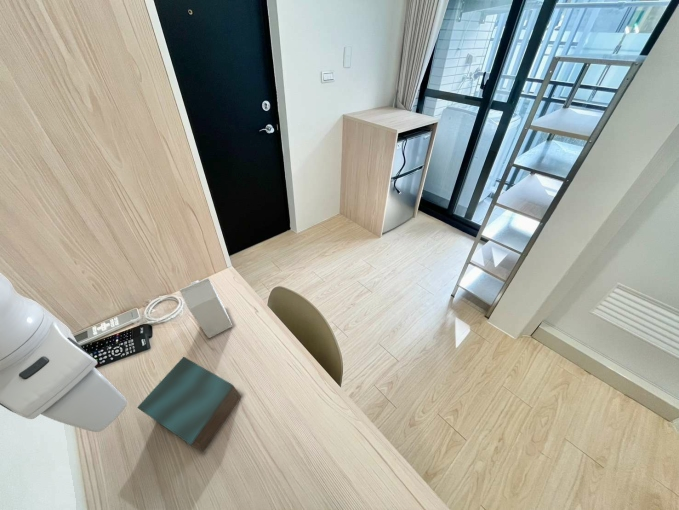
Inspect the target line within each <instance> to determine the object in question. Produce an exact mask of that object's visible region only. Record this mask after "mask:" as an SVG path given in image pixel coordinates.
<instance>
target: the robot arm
mask: <svg viewBox="0 0 679 510" xmlns="http://www.w3.org/2000/svg"><path fill="white" fill-rule="evenodd" d="M97 365H98V360H96V359H95V357H93V356H92V355H91V354H90V353H89V352H88V351H86V350H85V349H84V348H83V347H82V346H81V345H80V344H79V342H78V341H77V340H76V338H75V336H74V334H73V333H72V330H71V329H70V327H69V326H68V325H66V324H65V323H64V322H62V320H60V319H59V318H58V317H56V316H55V315H54V314H52V313H51V312H50V311H49V310H47V309H46V308H45V307H44V306H43V305H42V304H40V303H39V302H37V301H36V300H34V299H31V298H29V297H26V296H25V295H24V296H23V295H22V294H20V293H19V292H17V291H16V289H15V287H14V285H13V283H12V282H11V281H10V280H9V279H8V277H6V276H5V275H4V274H3V273H1V272H0V406H1V407H4V408H5V409H7V410H8V411H9V412H12V413H14V414H16V415H18V416H20V417H22V418H24V419H28V420H34V419H36V418H37V417H39V416H40V415H41V416H44V417H46V418H48V419H50V420H53V421H56V422H58V423H60V424H61V423H62V424H64V425H68V426H71V427H74V428H78V429H81V430H84V431H88V432H91V433H99V432H102V431H104V430H105V429H106V428H107V427H109V426H110V425H111V424H112V423H113V422H114V421H115V420H116V419H117V418H118V417H119V416H120V415H121V413H122V412H123V411H124V410H125V409H126V407H127V405H128V400H127V397H125V395H123V394H122V393H121V391H120V390H119V389H118V388H116V387H115V385H114V384H113V383H112V382H111V381H109V379H108V378H106V376H105V375H103V374H102V372H100V371H99V370H98V369H97V368H96V366H97Z"/></svg>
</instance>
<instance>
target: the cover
mask: <svg viewBox="0 0 679 510" xmlns="http://www.w3.org/2000/svg"><path fill="white" fill-rule="evenodd" d="M233 386H234V385H233V383H230V382H229V381H227V380H226V379H223V378H222V377H220V376H219V375H217V374H215V373H213V372H211V371H210V370H208V369H207V368H205V367H203V366H202V365H199V364H198V363H196V362H194V361H192V360H190V359H189V358H187V357H185V356H182V358H181V359H180V360H179V361H178V362H177V363H176V364H175V365H174V366H173V367H172V369H171V370H170V371H169V372H168V373H167V374H166V375H165V376H164V377H163V379H162V380H161V381H160V382H159V383H158V384H157V385H156V386H155V388H154V389H152V390H151V392H150V393H149V394H148V395H147V396H146V397H145V398H144V399H143V400H142V402H141V403H139V405H138V406H137V409H139V410H140V411H141V412H142V413H144V414H145V415H147V416H148V417H149V418H151V419H153V420H154V421H155V422H157V423H158V424H160V425H161V426H163V427H165V429H167V430H168V431H170V432H171V433H173V434H174V435H175V436H177V437H179V438H180V439H181V440H183V441H184V442H186V443H187V444H188V445H190V446H192V443H193V442H194V441H195V439H196V438H197V437H198V435H199V434H200V432H201V431H202V430H203V428H204V427H205V425H206V424H207V423H208V421H209V420H210V418H211V417H212V416H213V414H214V413H215V411H216V410H217V409H218V407H219V406H220V404H221V403H222V402H223V400H224V399H225V397H226V396H227V395H228V393H229V392H230V391H231V389H232V388H233Z"/></svg>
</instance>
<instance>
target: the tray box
mask: <svg viewBox="0 0 679 510" xmlns="http://www.w3.org/2000/svg"><path fill="white" fill-rule="evenodd" d="M241 398H242V394H240V393H239V391H238V390H237V388H236V387H235V386H234V385H233V388H232V389H231V391H230V392H229V393H228V395H227V396H226V397H225V399H224V400H223V402H222V403H221V404H220V406H219V407H218V409H217V410H216V411H215V413H214V414H213V416H212V417H211V418H210V420H209V421H208V423H207V424H206V425H205V427H204V428H203V430H202V431H201V432H200V434H199V435H198V437H197V438H196V439H195V441H194V442H193V443H192V445H191V446H192V447H194V448H196V449H197V450H199V451H201V452H202V453H203V452H205V450H206V449H207V447H208V446H209V444H211V442H212V440H213V439H214V437H215V436H216V435H217V432H218V431H219V430H220V428H221V427H222V425H223V424H224V422H225V421H226V420H227V418H228V417H229V415H230V414H231V412H232V411H233V409H234V408H235V406H236V405H237V403H239V400H240V399H241Z"/></svg>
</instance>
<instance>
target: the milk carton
mask: <svg viewBox="0 0 679 510" xmlns="http://www.w3.org/2000/svg"><path fill="white" fill-rule="evenodd" d="M178 291H179V292H180V294H181V297H182V298H183V300H184V303H185V305H186V307H187V309H188V311H189V312H190V313H191V315H192V316H193V318H194V319H195V321H196V322H197V324H198V325H199V326H200V328H201V330H202V331H203V333H204V334H205V335H206V337H207V338H208V339H210V338H212V337H215V336H217V335H218V334H220V333H222V332H224V331H226V330H229V329H230V328H232V327H233V324H232V321H231V319H230V317H229V315H228V313H227V310H226V308H225V306H224V304H223V302H222V300H221V298H220V297H219V295H218V293H217V291H216V288H215V287H214V285H213V283H212V282H211V279H209V277H206V278H204V279H202V280H200V281H199V279H197V280H194V281H192V282H190V283H189V285H187V286H184V287H182V288H180V289H178Z"/></svg>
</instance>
